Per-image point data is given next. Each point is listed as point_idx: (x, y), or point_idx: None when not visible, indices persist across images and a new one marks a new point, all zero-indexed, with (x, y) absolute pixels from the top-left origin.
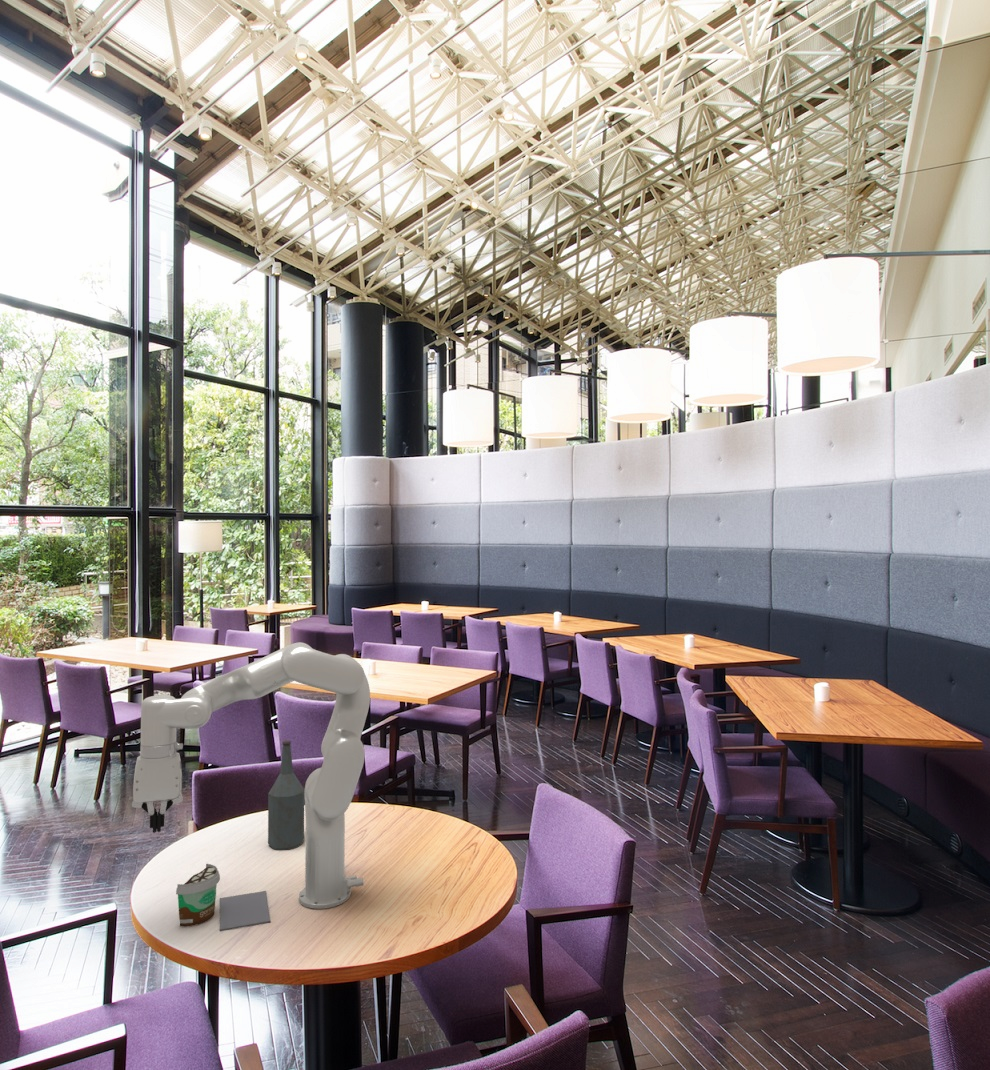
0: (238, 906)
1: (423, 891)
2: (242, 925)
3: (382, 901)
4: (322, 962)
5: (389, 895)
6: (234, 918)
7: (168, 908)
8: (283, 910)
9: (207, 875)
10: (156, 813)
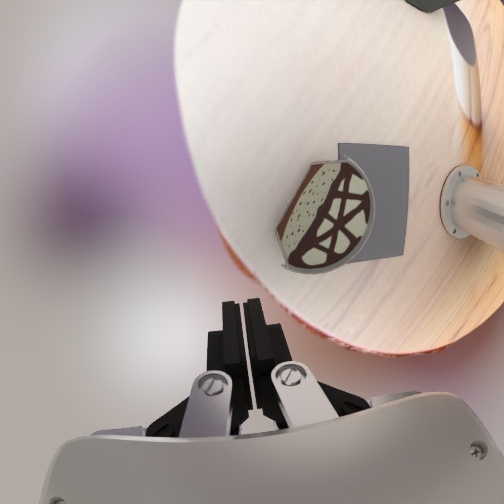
0: None
1: None
2: (369, 259)
3: None
4: (416, 344)
5: None
6: None
7: (243, 147)
8: (420, 221)
9: (350, 213)
10: (247, 389)
